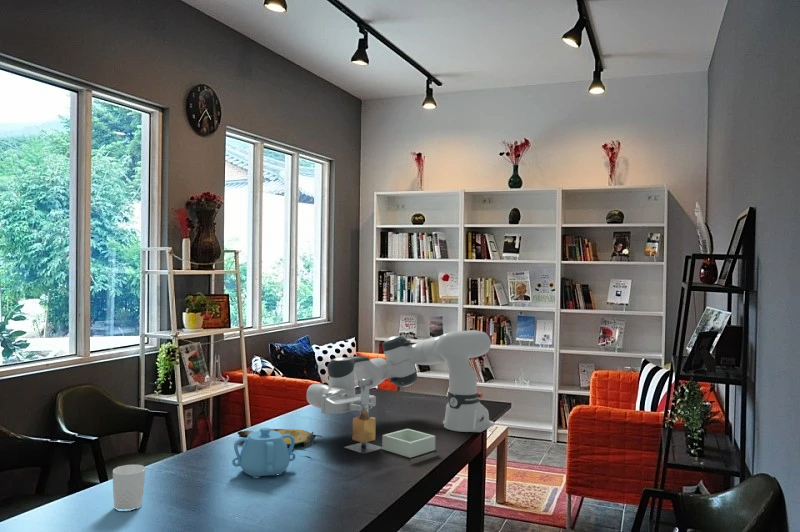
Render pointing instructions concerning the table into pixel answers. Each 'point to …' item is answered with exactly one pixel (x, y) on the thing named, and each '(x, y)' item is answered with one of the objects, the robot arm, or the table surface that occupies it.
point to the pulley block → (300, 436)
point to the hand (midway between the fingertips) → (366, 407)
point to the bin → (408, 443)
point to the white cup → (128, 486)
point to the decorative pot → (264, 453)
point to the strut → (364, 416)
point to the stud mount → (363, 447)
